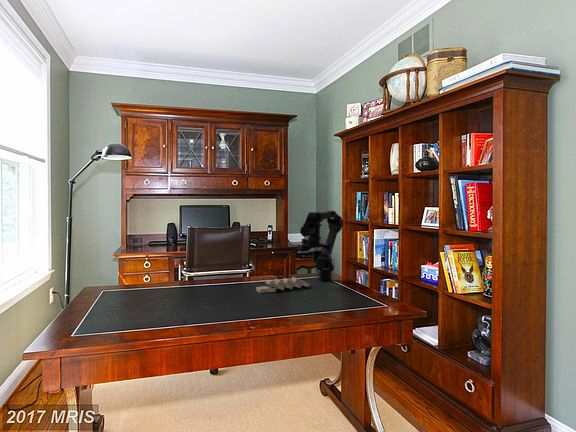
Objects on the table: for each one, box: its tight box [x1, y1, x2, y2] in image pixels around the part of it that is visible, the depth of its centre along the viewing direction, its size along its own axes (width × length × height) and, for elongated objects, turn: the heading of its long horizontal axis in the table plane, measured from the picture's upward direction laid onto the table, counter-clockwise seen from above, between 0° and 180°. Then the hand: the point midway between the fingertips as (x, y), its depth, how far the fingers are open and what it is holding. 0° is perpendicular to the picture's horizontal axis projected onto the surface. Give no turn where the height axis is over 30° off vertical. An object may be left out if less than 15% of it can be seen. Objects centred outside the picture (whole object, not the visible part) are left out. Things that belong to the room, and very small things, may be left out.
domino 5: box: [290, 276, 311, 288], centre depth 208 cm, size 2×5×9 cm
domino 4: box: [282, 277, 303, 289], centre depth 206 cm, size 2×5×9 cm
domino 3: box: [273, 278, 294, 290], centre depth 203 cm, size 2×5×9 cm
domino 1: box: [255, 285, 277, 294], centre depth 199 cm, size 2×5×9 cm
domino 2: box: [265, 279, 286, 291], centre depth 201 cm, size 2×5×9 cm
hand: (314, 263), depth 213 cm, fingers closed
